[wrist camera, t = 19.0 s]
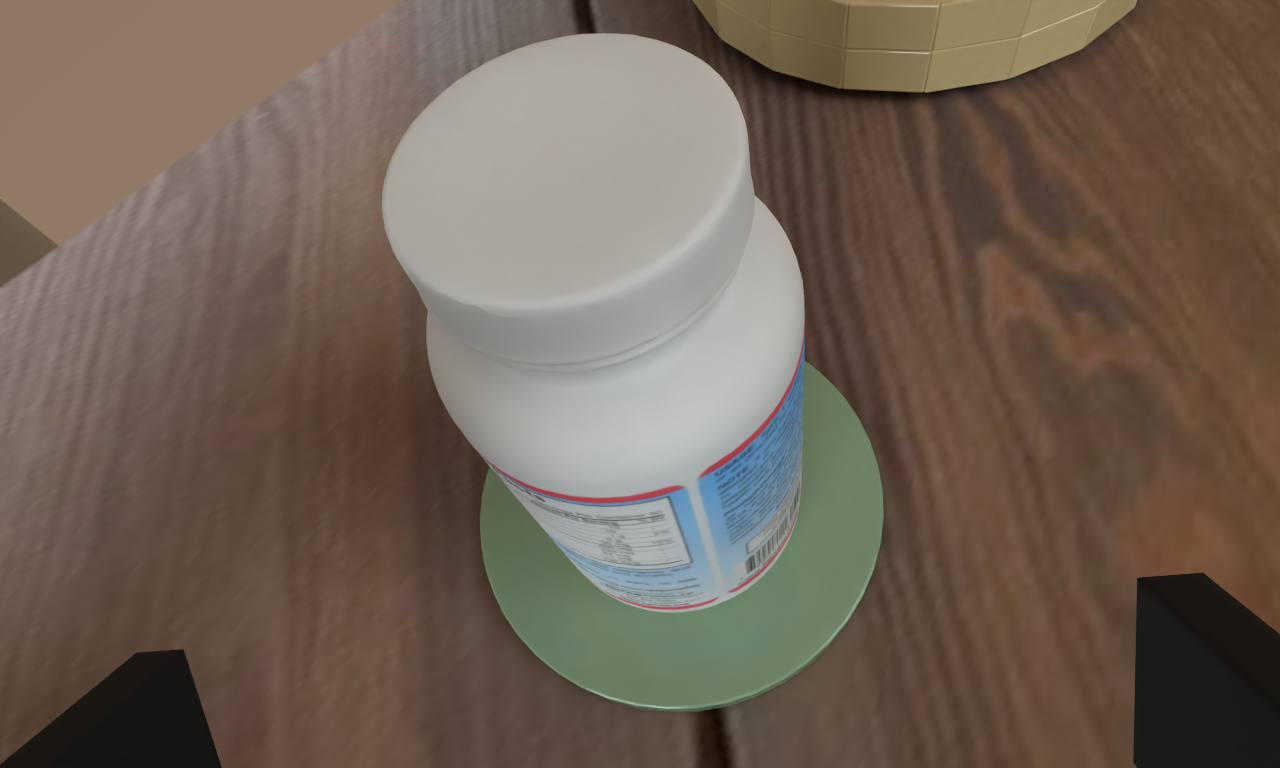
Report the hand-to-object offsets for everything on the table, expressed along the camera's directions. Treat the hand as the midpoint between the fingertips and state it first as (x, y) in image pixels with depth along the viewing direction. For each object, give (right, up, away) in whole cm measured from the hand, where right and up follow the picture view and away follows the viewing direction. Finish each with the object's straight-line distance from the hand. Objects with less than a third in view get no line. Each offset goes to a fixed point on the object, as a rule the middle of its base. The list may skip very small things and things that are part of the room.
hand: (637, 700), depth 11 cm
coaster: (+1, +1, +9) cm, 9 cm away
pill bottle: (+1, +2, +9) cm, 9 cm away
